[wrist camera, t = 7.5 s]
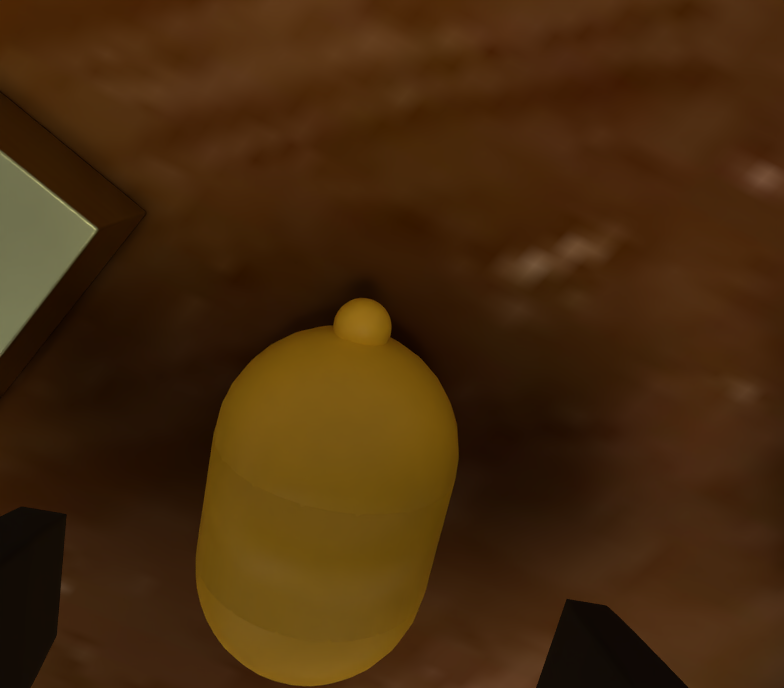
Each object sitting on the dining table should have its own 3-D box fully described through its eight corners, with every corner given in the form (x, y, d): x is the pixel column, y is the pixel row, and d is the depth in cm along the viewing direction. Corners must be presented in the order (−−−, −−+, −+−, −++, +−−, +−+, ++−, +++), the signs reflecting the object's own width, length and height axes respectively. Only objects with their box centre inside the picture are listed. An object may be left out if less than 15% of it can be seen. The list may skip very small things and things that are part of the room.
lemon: (393, 617, 16) (399, 788, 12) (207, 586, 16) (146, 752, 12) (475, 295, 14) (518, 367, 10) (260, 250, 13) (207, 305, 9)
